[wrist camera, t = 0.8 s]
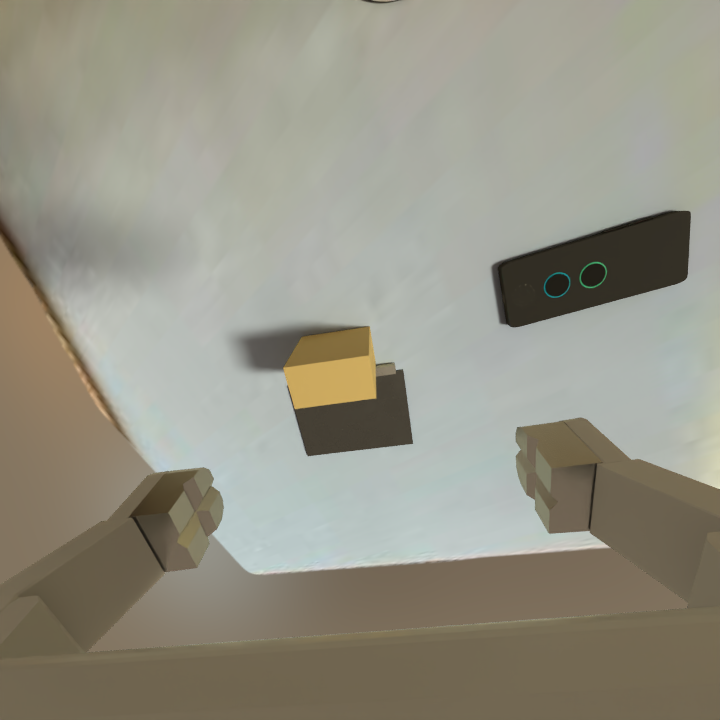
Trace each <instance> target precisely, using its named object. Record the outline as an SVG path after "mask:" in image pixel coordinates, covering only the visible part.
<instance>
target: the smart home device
mask: <svg viewBox="0 0 720 720" xmlns="http://www.w3.org/2000/svg"><path fill="white" fill-rule="evenodd" d="M690 220H691V213H690V212H689V211H673V212H669V213H666V214H663V215H659V216H656V217H649V218H646V219H643V220H639V221H636V222H633V223H629V224H626V225H623V226H619V227H616V228H613V229H609V230H606V231H603V232H602V233H600V234H596V235H593V236H590V237H586V238H583V239H580V240H576V241H573V242H570V243H566V244H563V245H560V246H556V247H553V248H550V249H546V250H543V251H540V252H536V253H533V254H530V255H527V256H523V257H520V258H517V259H513V260H510V261H507V262H504V263H502V264H501V265H500V266H499V267H498V271H499V277H500V284H501V290H502V298H503V303H504V310H505V317H506V323H507V324H508V325H509V326H511V327H520V326H524V325H527V324H531V323H535V322H538V321H542V320H546V319H550V318H553V317H557V316H561V315H564V314H568V313H572V312H575V311H579V310H583V309H586V308H590V307H594V306H597V305H601V304H605V303H608V302H612V301H616V300H619V299H623V298H627V297H631V296H634V295H638V294H642V293H645V292H649V291H653V290H656V289H660V288H664V287H667V286H671V285H675V284H678V283H680V282H682V281H684V280H685V279H686V278H687V275H688V258H689V239H690Z"/></svg>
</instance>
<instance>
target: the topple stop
mask: <svg viewBox="0 0 720 720" xmlns="http://www.w3.org/2000/svg"><path fill="white" fill-rule="evenodd" d="M288 388H289V387H288ZM289 391H290V390H289ZM290 395H291V394H290ZM291 398H292V397H291ZM292 402H293V401H292ZM293 405H294V404H293ZM294 409H295V408H294ZM295 412H296V416H297V419H298V423H299V427H300V430H301V434H302V437H303V441H304V444H305V448H306V451H307V455H308V456H313V455H321V454H329V453H338V452H346V451H355V450H363V449H372V448H380V447H389V446H397V445H405V444H413V440H412V433H411V425H410V418H409V410H408V403H407V395H406V388H405V380H404V373H403V370H397V371H396V369H395V363H388V364H381V365H376V398H375V399H367V400H360V401H352V402H345V403H337V404H330V405H322V406H315V407H307V408H300V409H295Z"/></svg>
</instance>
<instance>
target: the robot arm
mask: <svg viewBox="0 0 720 720" xmlns="http://www.w3.org/2000/svg"><path fill="white" fill-rule="evenodd" d="M373 1H381V2H382V1H395V0H373ZM516 443H517V444H518V446H519V447H520V449H521V450H520V451H519V453H518V454H517V455H516V468H517V473H518V477H519V480H520V483H521V485H522V487H523V489H524V491H525V493H526V495H528V496H530V497H531V498H533V499H535V510H536V512H537V514H538V516H539V517H540V519H541V521H542V523H543V524H544V526H545V528H546V529H547V531H548V533H549V534H551V533H565V532H579V531H590V533H591V534H592V535H594V536H595V537H597V538H598V539H599V540H601V541H602V542H604V543H605V544H606V545H608V546H609V547H611V548H612V549H613V550H615V551H616V552H618V553H619V554H620V555H622V556H623V557H625V558H626V559H628V560H629V561H630V562H632V563H633V564H634V565H636V566H637V567H639V568H640V569H641V570H643V571H644V572H646V573H647V574H648V575H650V576H651V577H653V578H654V579H656V580H657V581H658V582H660V583H661V584H663V585H664V586H665V587H667V588H668V589H670V590H671V591H672V592H674V593H675V594H677V595H678V596H679V597H681V598H682V599H684V600H685V601H687V602H688V606H687V608H685V609H672V610H658V611H644V612H631V613H617V614H604V615H591V616H590V615H589V616H576V617H562V618H548V619H535V620H522V621H508V622H495V623H482V624H468V625H455V626H442V627H428V628H415V629H402V630H388V631H377V632H376V631H375V632H362V633H349V634H348V633H347V634H334V635H320V636H306V637H293V638H278V639H264V640H250V641H237V642H223V643H209V644H196V645H182V646H168V647H155V648H141V649H128V650H114V651H100V652H87V651H88V650H89V649H90V648H91V647H92V646H93V645H94V644H95V643H96V642H97V641H98V640H99V639H100V638H101V637H102V636H103V635H104V634H105V633H106V632H107V631H108V630H109V629H110V628H111V627H112V626H113V625H114V624H115V623H116V622H117V621H118V620H119V619H120V618H121V617H122V616H123V615H124V614H125V613H126V612H127V611H128V610H129V609H130V608H131V607H132V606H133V605H134V604H135V603H136V602H137V601H138V600H139V599H140V598H141V597H142V596H143V595H144V594H145V593H146V592H147V591H148V590H149V589H150V588H151V587H152V586H153V585H154V584H155V583H156V582H157V581H158V580H159V579H160V578H161V577H162V576H163V575H164V574H165V573H164V572H170V571H177V570H185V569H192V568H197V567H198V565H199V563H200V562H201V560H202V558H203V556H204V554H205V552H206V550H207V548H208V546H209V544H210V543H209V539H208V536H209V535H210V534H212V533H213V532H214V531H215V530H216V529H217V528H218V526H219V524H220V522H221V520H222V515H223V509H224V506H223V499H222V497H221V494H220V492H219V491H218V490H216V489H215V488H214V487H212V483H213V480H214V478H213V476H212V474H211V472H210V470H209V469H207V468H204V467H203V468H193V469H184V470H174V471H166V472H158V473H153V474H150V475H148V476H147V477H146V478H145V479H144V480H143V481H142V482H141V484H140V485H139V486H138V487H137V488H136V489H135V490H134V491H133V492H132V493H131V495H130V496H129V497H128V498H127V499H126V500H125V501H124V502H123V503H122V505H121V506H120V507H119V508H118V509H117V510H116V511H115V512H114V514H113V515H112V516H111V517H110V518H109V519H108V520H107V521H101V522H99V523H98V524H96V525H95V526H93V527H92V528H90V529H88V530H87V531H85V532H84V533H82V534H80V535H79V536H77V537H76V538H74V539H72V540H71V541H69V542H67V543H66V544H64V545H63V546H61V547H59V548H58V549H56V550H55V551H53V552H52V553H50V554H48V555H47V556H45V557H43V558H42V559H40V560H39V561H37V562H36V563H34V564H32V565H31V566H29V567H28V568H26V569H24V570H23V571H21V572H20V573H18V574H16V575H15V576H13V577H12V578H10V579H8V580H7V581H5V582H4V583H2V584H0V720H720V489H717V488H715V487H712V486H709V485H707V484H704V483H701V482H699V481H696V480H693V479H691V478H688V477H685V476H683V475H680V474H677V473H675V472H672V471H669V470H667V469H664V468H661V467H659V466H656V465H653V464H651V463H648V462H645V461H643V460H640V459H635V460H631V459H630V458H629V457H628V456H626V455H625V454H624V453H623V452H622V451H621V450H620V449H619V448H618V447H616V446H615V445H614V444H613V443H612V442H611V441H610V440H609V439H608V438H607V437H605V436H604V435H603V434H602V433H601V432H600V431H599V430H598V429H597V428H595V427H594V426H593V425H592V424H591V423H590V422H589V421H588V420H586V419H584V418H575V419H569V420H563V421H559V422H553V423H546V424H539V425H531V426H524V427H517V430H516ZM86 652H87V653H86Z"/></svg>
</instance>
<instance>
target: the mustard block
mask: <svg viewBox="0 0 720 720" xmlns="http://www.w3.org/2000/svg"><path fill="white" fill-rule="evenodd" d="M283 369H284V373H285V376H286V380H287V383H288V387H289V390H290V394H291V397H292V401H293V404H294V408H295V409H300V408H307V407H315V406H322V405H330V404H337V403H345V402H352V401H360V400H367V399H375V398H376V363H375V356H374V350H373V344H372V338H371V332H370V326H369V327H362V328H356V329H349V330H343V331H336V332H330V333H323V334H317V335H310V336H304V337H301V339H300V341H299V342H298V344H297V346H296V347H295V349H294V351H293V352H292V354H291V356H290V357H289V359H288V361H287V362H286V364H285V366H284V367H283Z"/></svg>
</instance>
